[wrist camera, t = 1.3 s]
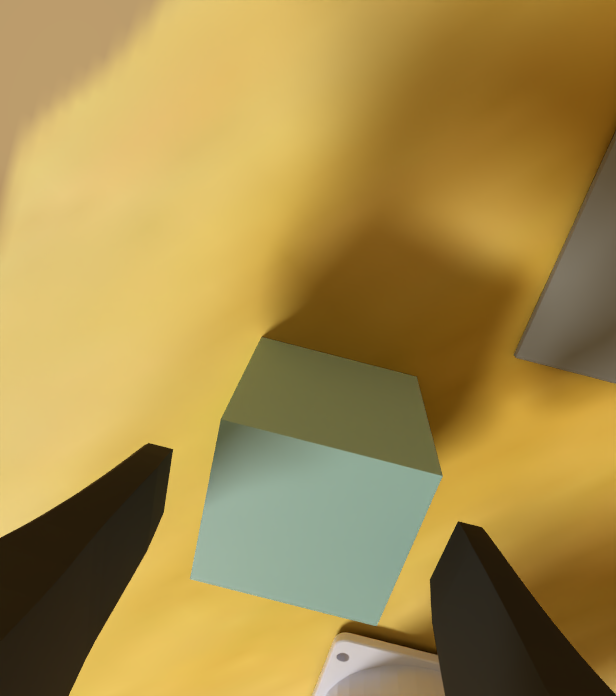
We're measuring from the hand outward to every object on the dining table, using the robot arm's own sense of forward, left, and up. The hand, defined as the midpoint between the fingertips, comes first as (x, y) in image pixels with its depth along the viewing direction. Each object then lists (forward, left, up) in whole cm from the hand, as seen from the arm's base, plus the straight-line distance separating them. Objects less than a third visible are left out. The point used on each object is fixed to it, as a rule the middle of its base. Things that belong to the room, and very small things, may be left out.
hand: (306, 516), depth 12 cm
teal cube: (0, 0, -5) cm, 5 cm away
